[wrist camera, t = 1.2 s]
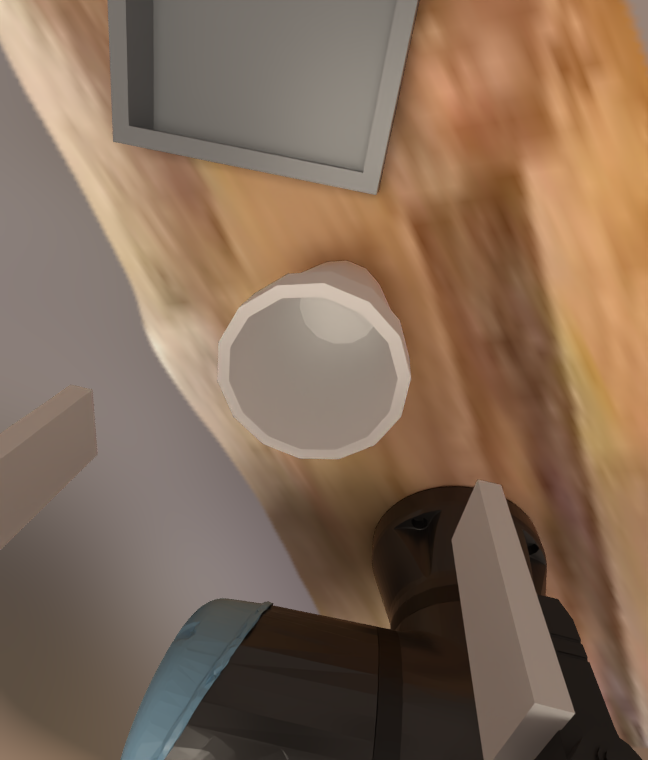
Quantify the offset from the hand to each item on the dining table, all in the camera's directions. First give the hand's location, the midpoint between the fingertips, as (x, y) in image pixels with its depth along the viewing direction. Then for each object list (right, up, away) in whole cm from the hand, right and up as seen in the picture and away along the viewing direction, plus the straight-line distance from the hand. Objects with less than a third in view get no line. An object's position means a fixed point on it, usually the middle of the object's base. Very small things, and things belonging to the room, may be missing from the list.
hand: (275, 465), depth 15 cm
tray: (-1, +24, +11) cm, 26 cm away
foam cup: (+3, +9, +18) cm, 20 cm away
